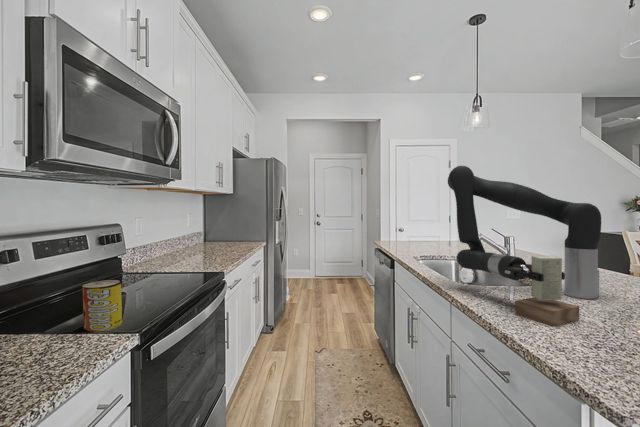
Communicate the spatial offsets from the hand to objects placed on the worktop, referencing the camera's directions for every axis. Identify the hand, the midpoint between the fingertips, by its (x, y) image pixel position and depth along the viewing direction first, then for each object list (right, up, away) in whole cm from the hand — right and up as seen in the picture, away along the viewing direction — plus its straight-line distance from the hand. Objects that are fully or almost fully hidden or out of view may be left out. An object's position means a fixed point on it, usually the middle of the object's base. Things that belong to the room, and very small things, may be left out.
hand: (553, 277), depth 91 cm
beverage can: (-128, -14, -1) cm, 128 cm away
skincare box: (-1, -7, +2) cm, 7 cm away
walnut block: (0, -13, +2) cm, 13 cm away
